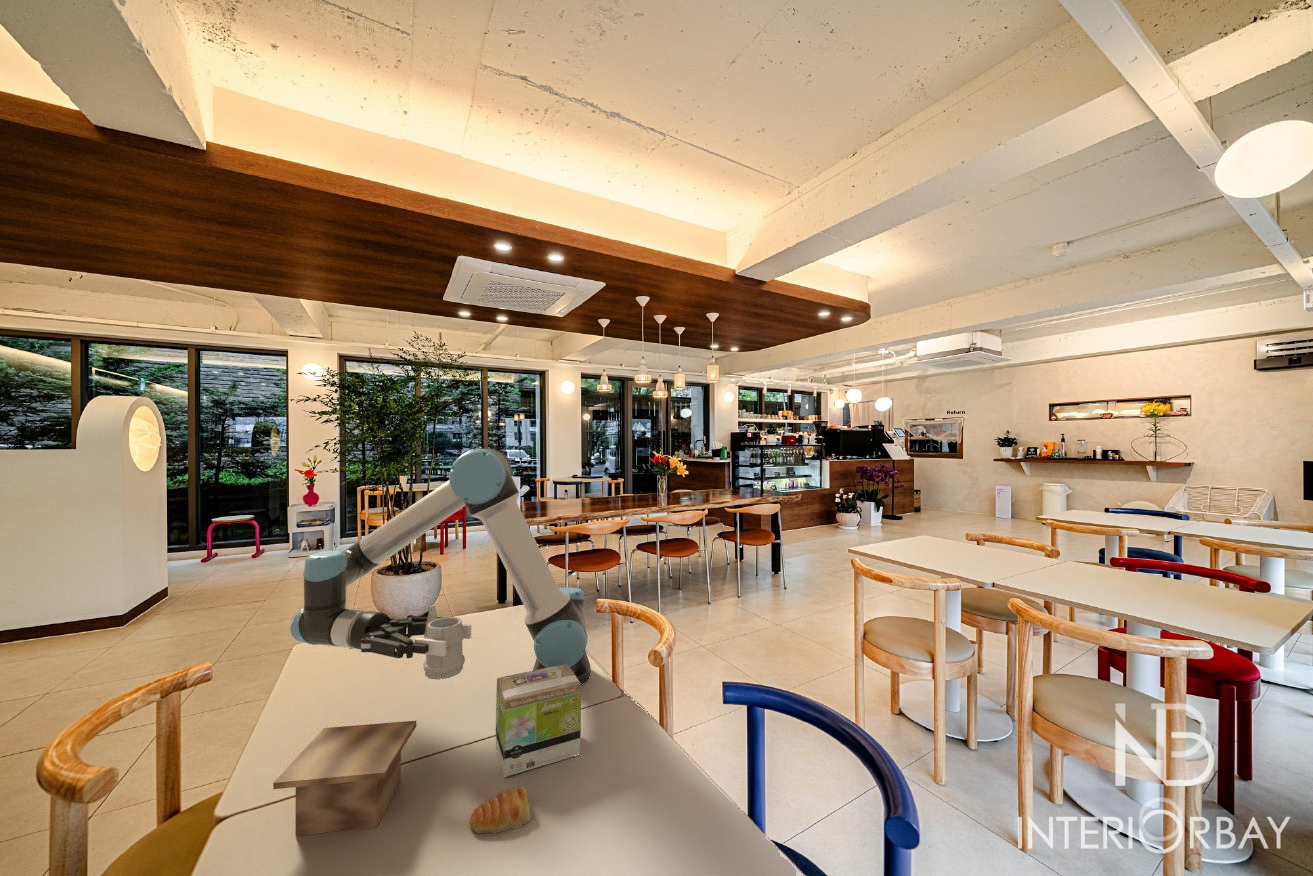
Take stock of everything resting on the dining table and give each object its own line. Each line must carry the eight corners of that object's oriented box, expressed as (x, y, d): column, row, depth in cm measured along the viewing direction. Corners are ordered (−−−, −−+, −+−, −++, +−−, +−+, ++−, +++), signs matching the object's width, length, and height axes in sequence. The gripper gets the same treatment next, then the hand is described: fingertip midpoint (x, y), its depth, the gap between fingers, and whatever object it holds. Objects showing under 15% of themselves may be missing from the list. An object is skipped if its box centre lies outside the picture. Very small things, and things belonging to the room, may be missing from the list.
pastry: (471, 846, 73) (471, 822, 73) (467, 816, 79) (467, 793, 79) (533, 824, 77) (533, 801, 77) (525, 797, 83) (525, 775, 84)
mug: (434, 684, 91) (434, 622, 91) (408, 665, 98) (408, 607, 98) (471, 670, 96) (472, 611, 97) (444, 653, 104) (445, 598, 104)
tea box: (503, 781, 87) (503, 700, 87) (495, 749, 96) (495, 676, 96) (582, 756, 94) (582, 681, 94) (567, 728, 103) (567, 660, 103)
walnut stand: (416, 773, 89) (416, 720, 89) (384, 835, 75) (384, 772, 75) (323, 782, 87) (323, 727, 87) (273, 848, 73) (273, 782, 73)
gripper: (398, 628, 110) (486, 637, 106) (319, 670, 91) (422, 683, 86) (398, 596, 111) (486, 604, 106) (319, 631, 91) (423, 642, 86)
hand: (458, 639), depth 96 cm, fingers closed on mug, 7 cm apart
